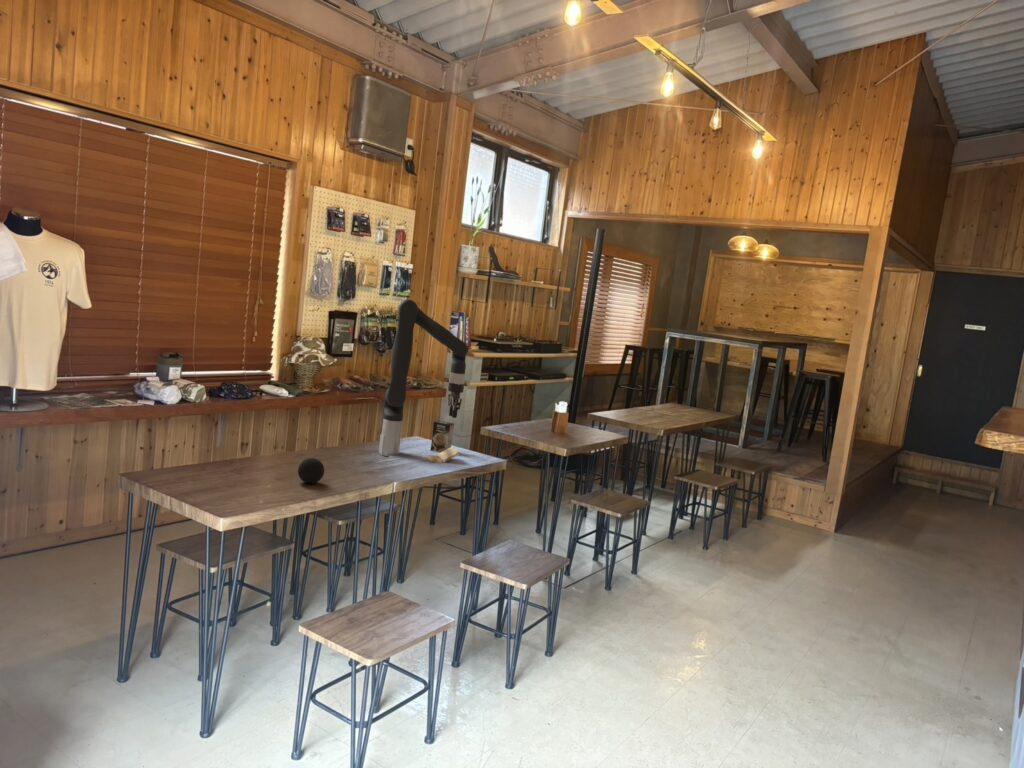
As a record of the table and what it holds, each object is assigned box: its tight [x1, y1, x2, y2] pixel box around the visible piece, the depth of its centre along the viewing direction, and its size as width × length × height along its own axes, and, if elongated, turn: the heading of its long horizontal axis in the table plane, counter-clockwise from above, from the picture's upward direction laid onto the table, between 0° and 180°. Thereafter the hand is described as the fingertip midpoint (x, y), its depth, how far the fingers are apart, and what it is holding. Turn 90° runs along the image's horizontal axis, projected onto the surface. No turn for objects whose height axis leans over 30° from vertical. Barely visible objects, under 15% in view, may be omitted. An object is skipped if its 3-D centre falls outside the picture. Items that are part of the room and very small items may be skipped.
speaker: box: [297, 457, 325, 485], centre depth 285 cm, size 10×10×10 cm
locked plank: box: [424, 454, 444, 464], centre depth 347 cm, size 6×11×1 cm, turn 24°
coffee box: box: [430, 420, 455, 453], centre depth 368 cm, size 9×6×16 cm
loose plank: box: [435, 446, 461, 463], centre depth 350 cm, size 9×11×1 cm
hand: (452, 416), depth 356 cm, fingers open, 4 cm apart
